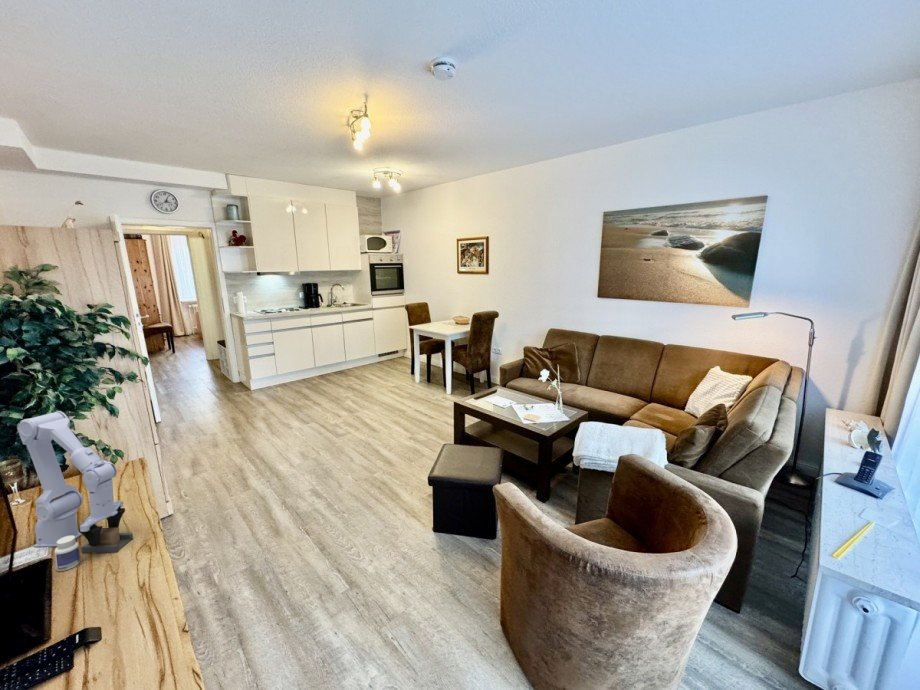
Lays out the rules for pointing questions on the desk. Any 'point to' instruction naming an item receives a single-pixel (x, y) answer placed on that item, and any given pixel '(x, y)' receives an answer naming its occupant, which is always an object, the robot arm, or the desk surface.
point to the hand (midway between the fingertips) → (104, 538)
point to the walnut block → (109, 536)
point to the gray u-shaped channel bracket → (123, 541)
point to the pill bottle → (67, 553)
